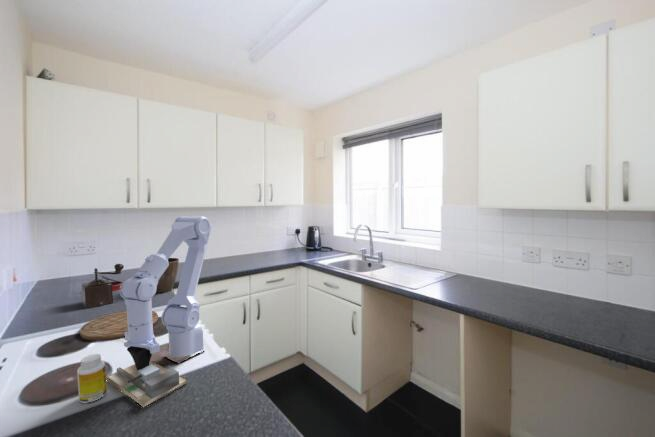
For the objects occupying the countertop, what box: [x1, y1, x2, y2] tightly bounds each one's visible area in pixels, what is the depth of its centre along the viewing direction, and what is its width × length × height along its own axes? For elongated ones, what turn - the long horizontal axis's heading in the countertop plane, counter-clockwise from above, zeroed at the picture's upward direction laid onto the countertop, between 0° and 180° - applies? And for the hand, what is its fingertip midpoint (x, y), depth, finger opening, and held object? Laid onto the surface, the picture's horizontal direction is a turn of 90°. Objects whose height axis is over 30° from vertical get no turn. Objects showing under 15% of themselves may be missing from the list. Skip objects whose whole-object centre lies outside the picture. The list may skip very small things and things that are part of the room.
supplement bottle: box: [76, 353, 108, 404], centre depth 77 cm, size 6×6×10 cm
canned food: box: [100, 274, 124, 292], centre depth 166 cm, size 11×10×10 cm
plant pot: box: [156, 257, 180, 293], centre depth 163 cm, size 15×15×16 cm
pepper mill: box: [81, 263, 125, 309], centre depth 145 cm, size 16×11×18 cm
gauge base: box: [106, 363, 187, 408], centre depth 83 cm, size 11×20×4 cm, turn 56°
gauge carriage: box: [128, 364, 160, 383], centre depth 80 cm, size 7×4×3 cm, turn 146°
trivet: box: [79, 310, 159, 342], centre depth 120 cm, size 25×25×2 cm
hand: (143, 370), depth 83 cm, fingers closed
